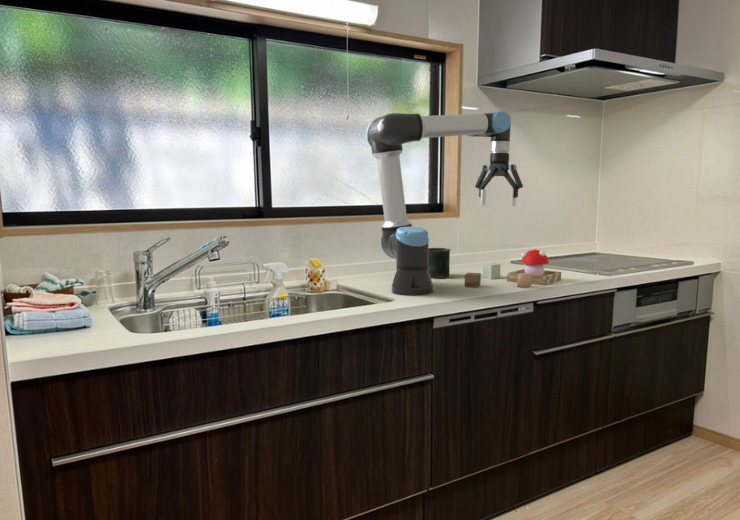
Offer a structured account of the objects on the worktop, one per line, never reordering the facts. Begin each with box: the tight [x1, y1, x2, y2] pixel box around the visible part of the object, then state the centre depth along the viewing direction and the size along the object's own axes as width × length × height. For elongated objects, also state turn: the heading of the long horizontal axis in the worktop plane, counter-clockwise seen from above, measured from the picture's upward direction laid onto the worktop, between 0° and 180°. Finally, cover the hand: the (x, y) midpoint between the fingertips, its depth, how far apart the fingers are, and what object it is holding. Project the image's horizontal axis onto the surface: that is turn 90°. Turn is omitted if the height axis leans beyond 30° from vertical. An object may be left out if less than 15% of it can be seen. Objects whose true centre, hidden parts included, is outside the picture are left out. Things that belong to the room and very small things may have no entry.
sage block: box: [482, 262, 501, 280], centre depth 229 cm, size 5×5×6 cm
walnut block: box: [464, 272, 482, 289], centre depth 209 cm, size 5×5×5 cm
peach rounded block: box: [516, 273, 532, 289], centre depth 207 cm, size 5×5×5 cm
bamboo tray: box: [506, 268, 562, 286], centre depth 221 cm, size 16×16×3 cm
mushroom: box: [520, 249, 550, 276], centre depth 220 cm, size 11×11×12 cm
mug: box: [428, 247, 451, 279], centre depth 233 cm, size 11×15×12 cm
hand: (497, 205), depth 221 cm, fingers open, 13 cm apart
